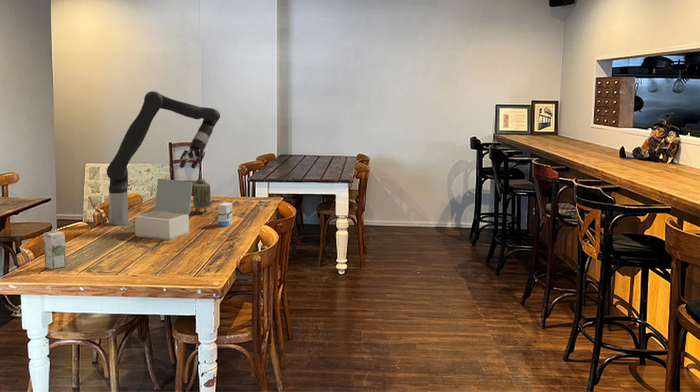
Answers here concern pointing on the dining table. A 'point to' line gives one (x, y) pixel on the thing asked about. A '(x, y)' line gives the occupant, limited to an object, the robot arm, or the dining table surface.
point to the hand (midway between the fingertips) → (186, 167)
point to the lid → (173, 196)
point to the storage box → (162, 225)
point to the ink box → (225, 214)
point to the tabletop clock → (201, 194)
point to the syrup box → (54, 249)
